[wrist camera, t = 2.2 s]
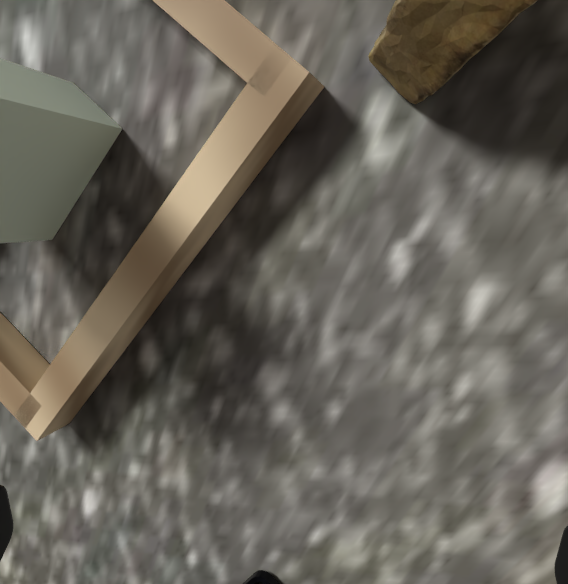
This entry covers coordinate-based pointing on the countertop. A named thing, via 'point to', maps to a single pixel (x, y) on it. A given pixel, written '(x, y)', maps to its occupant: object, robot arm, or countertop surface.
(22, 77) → the pale green rectangular pillar
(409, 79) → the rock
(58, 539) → the countertop surface
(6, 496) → the robot arm
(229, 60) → the wooden u-shaped frame
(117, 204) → the countertop surface
